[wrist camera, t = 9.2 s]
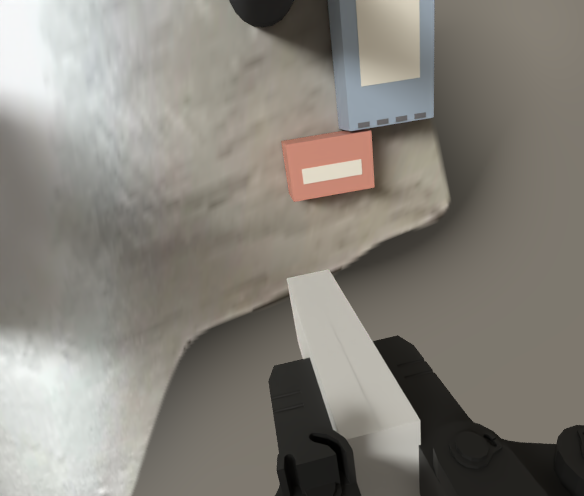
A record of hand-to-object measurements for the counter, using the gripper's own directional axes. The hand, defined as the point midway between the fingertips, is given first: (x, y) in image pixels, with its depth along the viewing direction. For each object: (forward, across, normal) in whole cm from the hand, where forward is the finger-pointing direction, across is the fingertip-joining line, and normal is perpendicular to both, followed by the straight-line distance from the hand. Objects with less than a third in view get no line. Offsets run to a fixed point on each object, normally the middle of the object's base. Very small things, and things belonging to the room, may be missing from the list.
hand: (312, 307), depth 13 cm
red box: (+31, +8, -1) cm, 32 cm away
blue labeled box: (+31, +15, +9) cm, 35 cm away
